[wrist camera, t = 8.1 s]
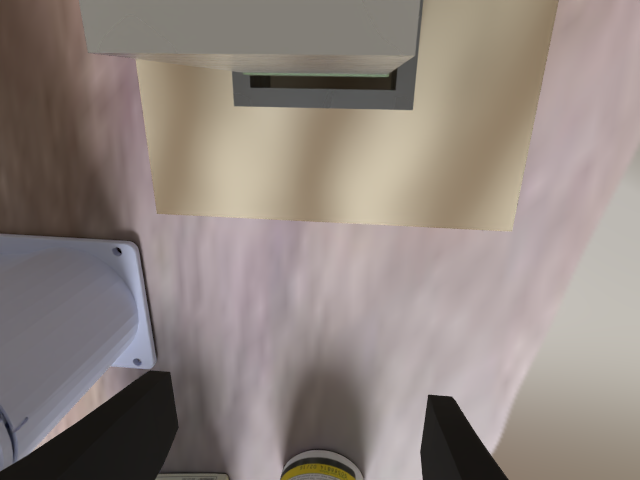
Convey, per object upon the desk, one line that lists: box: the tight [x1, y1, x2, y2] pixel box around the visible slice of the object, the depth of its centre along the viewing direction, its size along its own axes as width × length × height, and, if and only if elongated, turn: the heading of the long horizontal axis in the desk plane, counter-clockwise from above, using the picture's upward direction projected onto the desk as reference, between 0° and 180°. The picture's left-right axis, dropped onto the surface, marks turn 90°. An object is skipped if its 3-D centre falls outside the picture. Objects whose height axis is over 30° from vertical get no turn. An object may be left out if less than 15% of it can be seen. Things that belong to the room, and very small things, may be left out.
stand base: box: [136, 0, 559, 231], centre depth 16 cm, size 16×16×2 cm
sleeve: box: [232, 0, 423, 110], centre depth 13 cm, size 6×7×3 cm
